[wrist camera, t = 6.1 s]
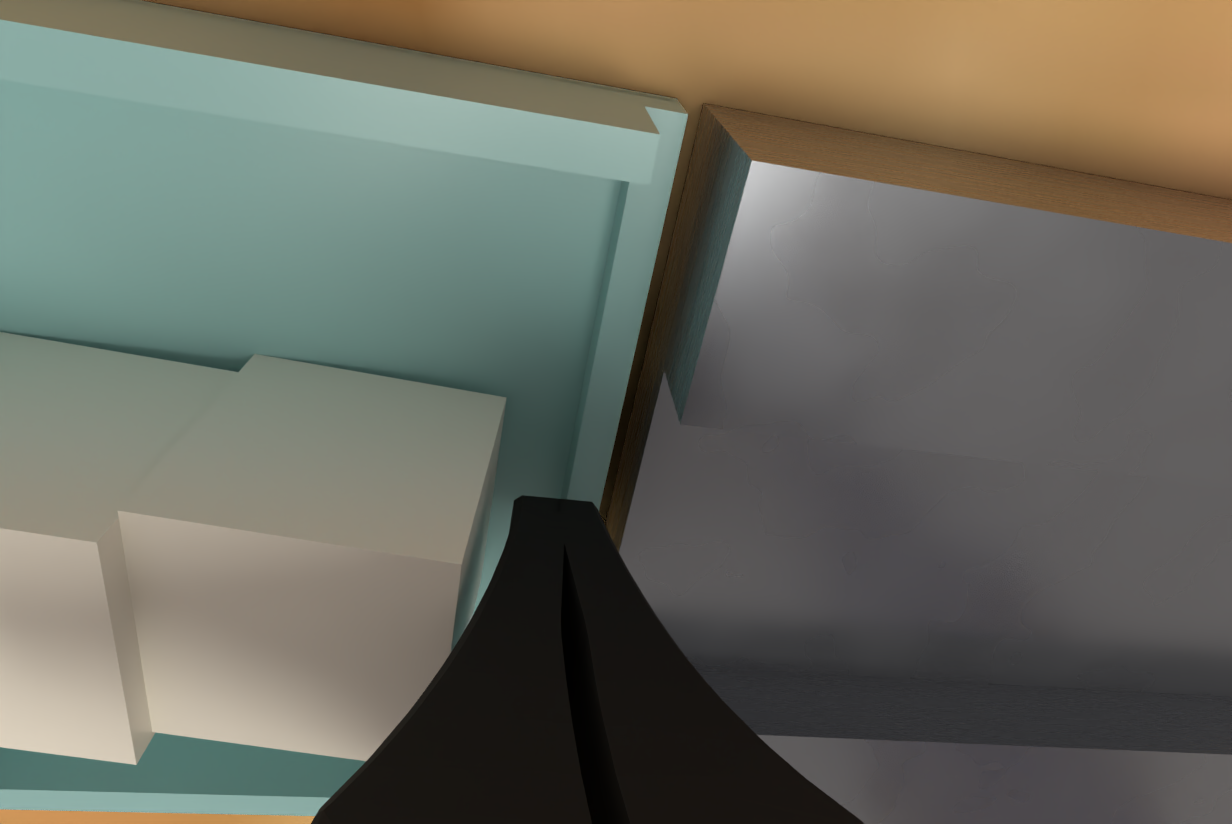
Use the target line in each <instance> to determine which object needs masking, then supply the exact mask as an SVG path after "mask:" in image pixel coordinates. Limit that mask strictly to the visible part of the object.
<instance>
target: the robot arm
mask: <svg viewBox="0 0 1232 824" xmlns="http://www.w3.org/2000/svg"><path fill="white" fill-rule="evenodd" d="M311 824H864V823H863V822H862V821H861V820H860V819H859V818H857V817H856V816H855V815H853V814H852V813H851V812H849V811H848V810H847V809H845V808H844V807H843V806H841V805H840V804H839V803H838V802H836V801H835V800H834V799H832V798H831V797H830V796H828V795H827V794H826V793H824V792H823V791H822V790H820V789H819V788H818V787H817V786H815V785H814V784H813V783H811V782H810V781H809V780H807V779H806V778H805V777H804V776H803V775H801V774H800V773H799V772H798V771H797V770H796V769H794V768H793V767H792V766H791V765H790V764H789V763H788V762H786V761H785V760H784V759H783V758H782V757H781V756H779V755H778V754H777V753H776V752H775V751H774V750H773V749H771V748H770V747H769V746H768V745H767V744H766V743H765V742H764V741H763V740H762V739H761V738H760V737H759V736H758V735H757V734H756V733H755V732H754V731H753V730H752V729H751V728H750V727H749V726H748V725H747V724H746V723H745V722H744V721H743V720H742V719H741V718H740V717H739V716H738V715H737V714H736V713H735V712H734V711H733V710H732V709H731V708H730V707H729V706H728V705H727V704H726V703H725V702H724V701H723V700H722V699H721V698H720V697H719V695H718V694H717V693H716V692H715V691H714V690H713V689H712V688H711V686H710V685H709V684H708V683H707V682H706V681H705V679H704V678H703V677H702V676H701V675H700V673H699V672H698V671H697V670H696V669H695V667H694V666H693V665H692V664H691V662H690V661H689V660H688V659H687V657H686V656H685V655H684V653H683V652H682V651H681V650H680V648H679V647H678V645H677V644H676V643H675V641H674V640H673V639H672V637H671V636H670V634H669V633H668V632H667V630H666V629H665V627H664V626H663V624H662V623H661V621H660V620H659V619H658V617H657V616H656V614H655V613H654V611H653V609H652V608H651V606H650V605H649V603H648V602H647V600H646V599H645V597H644V595H643V594H642V592H641V590H640V589H639V587H638V585H637V584H636V582H635V580H634V579H633V577H632V575H631V574H630V572H629V570H628V568H627V567H626V565H625V563H624V561H623V559H622V558H621V556H620V554H619V552H618V550H617V548H616V546H615V544H614V542H613V540H612V538H611V536H610V534H609V532H608V530H607V528H606V526H605V524H604V522H603V520H602V518H601V515H600V513H599V511H598V509H597V507H596V506H595V505H594V503H593V502H590V501H579V500H569V499H558V498H547V497H536V496H525V495H522V496H520V497H518V498H517V499H515V500H514V503H513V509H512V516H511V522H510V528H509V535H508V538H507V541H506V544H505V547H504V550H503V552H502V555H501V557H500V559H499V562H498V564H497V567H496V569H495V571H494V574H493V576H492V579H491V581H490V583H489V585H488V587H487V589H486V591H485V593H484V595H483V597H482V599H481V601H480V603H479V605H478V607H477V608H476V610H475V612H474V614H473V616H472V618H471V620H470V622H469V624H468V625H467V627H466V629H465V630H464V632H463V634H462V636H461V637H460V639H459V640H458V642H457V644H456V645H455V647H454V648H453V650H452V652H451V653H450V655H449V656H448V658H447V659H446V661H445V662H444V664H443V665H442V667H441V668H440V670H439V671H438V673H437V674H436V675H435V677H434V678H433V680H432V681H431V682H430V684H429V685H428V687H427V688H426V689H425V691H424V692H423V694H422V695H421V696H420V698H419V699H418V700H417V702H416V703H415V704H414V705H413V707H412V708H411V709H410V711H409V712H408V713H407V714H406V716H405V717H404V718H403V719H402V720H401V721H400V723H399V724H398V725H397V726H396V727H395V729H394V730H393V731H392V732H391V733H390V734H389V736H388V737H387V738H386V739H385V740H384V741H383V743H382V744H381V745H380V746H379V747H378V749H377V750H376V751H375V752H374V753H373V754H372V755H371V756H370V758H369V759H368V760H367V761H366V762H365V763H364V764H363V765H362V766H361V767H360V768H359V769H358V770H357V771H356V772H355V773H354V774H353V775H352V776H351V777H350V778H349V779H348V780H347V781H346V782H345V783H344V784H343V785H342V786H341V787H340V788H339V789H338V790H337V791H336V792H335V793H334V794H333V795H332V797H331V798H330V799H329V800H328V801H327V802H326V803H325V804H324V805H323V806H322V807H321V808H320V809H319V810H318V812H317V814H316V816H315V818H314V819H313V821H312V823H311Z"/></svg>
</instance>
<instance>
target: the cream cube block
mask: <svg viewBox="0 0 1232 824" xmlns="http://www.w3.org/2000/svg"><path fill="white" fill-rule="evenodd" d="M506 398H507V397H501V396H495V395H490V394H484V393H478V392H472V391H466V390H461V389H455V388H449V387H443V386H438V385H432V384H426V383H420V382H415V381H409V380H403V379H397V378H391V377H386V376H380V375H374V374H368V373H363V372H357V371H351V370H345V369H340V368H334V367H328V366H322V365H316V364H311V363H305V362H299V361H293V360H288V359H282V358H276V357H270V356H265V355H259V354H254V355H253V356H252V357H251V359H250V360H249V361H248V362H247V363H246V364H245V365H244V367H243V368H242V369H241V370H240V371H239V372H238V373H237V375H236V376H235V377H234V378H233V379H232V380H231V381H230V383H229V384H228V385H227V386H226V387H225V388H224V389H223V391H222V392H221V393H220V394H219V395H218V396H217V397H216V399H215V400H214V401H213V402H212V403H211V404H210V405H209V407H208V408H207V409H206V410H205V411H204V412H203V413H202V415H201V416H200V417H199V418H198V419H197V420H196V421H195V423H194V424H193V425H192V426H191V427H190V428H189V429H188V431H187V432H186V433H185V434H184V435H183V436H182V437H181V439H180V440H179V441H178V442H177V443H176V444H175V445H174V447H173V448H172V449H171V450H170V451H169V452H168V453H167V455H166V456H165V457H164V458H163V459H162V460H161V461H160V463H159V464H158V465H157V466H156V467H155V468H154V469H153V471H152V472H151V473H150V474H149V475H148V476H147V477H146V478H145V480H144V481H143V482H142V483H141V484H140V485H139V486H138V488H137V489H136V490H135V491H134V492H133V493H132V494H131V496H130V497H129V498H128V499H127V500H126V501H125V502H124V504H123V505H122V506H121V507H120V508H119V509H118V510H117V511H118V517H119V524H120V530H121V536H122V543H123V549H124V555H125V562H126V568H127V574H128V581H129V587H130V593H131V600H132V606H133V613H134V619H135V625H136V632H137V638H138V644H139V651H140V657H141V663H142V670H143V676H144V682H145V689H146V695H147V701H148V708H149V714H150V721H151V727H152V732H156V733H163V734H170V735H178V736H185V737H192V738H200V739H207V740H214V741H222V742H229V743H237V744H244V745H251V746H258V747H266V748H273V749H280V750H288V751H295V752H302V753H310V754H317V755H325V756H332V757H339V758H346V759H354V760H361V761H367V760H368V759H369V758H370V756H371V755H372V754H373V753H374V752H375V751H376V750H377V749H378V747H379V746H380V745H381V744H382V743H383V741H384V740H385V739H386V738H387V737H388V736H389V734H390V733H391V732H392V731H393V730H394V729H395V727H396V726H397V725H398V724H399V723H400V721H401V720H402V719H403V718H404V717H405V716H406V714H407V713H408V712H409V711H410V709H411V708H412V707H413V705H414V704H415V703H416V702H417V700H418V699H419V698H420V696H421V695H422V694H423V692H424V691H425V689H426V688H427V687H428V685H429V684H430V682H431V681H432V680H433V678H434V677H435V675H436V674H437V673H438V671H439V670H440V668H441V667H442V665H443V664H444V662H445V661H446V659H447V658H448V656H449V655H450V653H451V652H452V650H453V648H454V647H455V645H456V644H457V642H458V640H459V639H460V637H461V636H462V634H463V632H464V630H465V629H466V627H467V625H468V624H469V622H470V620H471V618H472V616H473V612H474V608H475V603H476V599H477V595H478V590H479V586H480V582H481V576H482V569H483V562H484V555H485V548H486V541H487V533H488V526H489V519H490V512H491V505H492V498H493V491H494V483H495V476H496V469H497V462H498V455H499V448H500V441H501V433H502V426H503V419H504V412H505V405H506Z"/></svg>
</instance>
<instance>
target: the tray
mask: <svg viewBox="0 0 1232 824" xmlns="http://www.w3.org/2000/svg"><path fill="white" fill-rule="evenodd" d="M687 118H688V113H687V112H686V110H685V109H684V108H683V106H682V105H681V104H680V102H679V101H678V100H677V98H671V97H666V96H661V95H655V94H650V93H644V92H639V91H633V90H628V89H622V88H617V87H611V86H606V85H600V84H595V83H590V82H584V81H579V80H573V79H568V78H562V77H557V76H551V75H546V74H540V73H535V72H529V71H524V70H519V69H513V68H508V67H502V66H497V65H491V64H486V63H480V62H475V61H469V60H464V59H458V58H453V57H448V56H442V55H437V54H431V53H426V52H420V51H415V50H409V49H404V48H398V47H393V46H387V45H382V44H377V43H371V42H366V41H360V40H355V39H349V38H344V37H338V36H333V35H327V34H322V33H316V32H311V31H305V30H300V29H295V28H289V27H284V26H278V25H273V24H267V23H262V22H256V21H251V20H245V19H240V18H234V17H229V16H224V15H218V14H213V13H207V12H202V11H196V10H191V9H185V8H180V7H174V6H169V5H163V4H158V3H153V2H147V1H142V0H0V332H4V333H10V334H16V335H22V336H28V337H34V338H39V339H45V340H51V341H57V342H63V343H69V344H75V345H81V346H87V347H93V348H99V349H105V350H110V351H116V352H122V353H128V354H134V355H140V356H146V357H152V358H158V359H164V360H170V361H176V362H181V363H187V364H193V365H199V366H205V367H211V368H217V369H223V370H229V371H235V372H239V371H240V370H241V369H242V368H243V367H244V365H245V364H246V363H247V362H248V361H249V360H250V359H251V357H252V356H253V355H254V354H259V355H265V356H270V357H276V358H282V359H288V360H293V361H299V362H305V363H311V364H316V365H322V366H328V367H334V368H340V369H345V370H351V371H357V372H363V373H368V374H374V375H380V376H386V377H391V378H397V379H403V380H409V381H415V382H420V383H426V384H432V385H438V386H443V387H449V388H455V389H461V390H466V391H472V392H478V393H484V394H490V395H495V396H501V397H507V398H506V405H505V412H504V419H503V426H502V433H501V441H500V448H499V455H498V462H497V469H496V476H495V483H494V491H493V498H492V505H491V512H490V519H489V526H488V533H487V541H486V548H485V555H484V562H483V569H482V576H481V582H480V586H479V590H478V595H477V599H476V603H475V608H474V612H475V610H476V608H477V607H478V605H479V603H480V601H481V599H482V597H483V595H484V593H485V591H486V589H487V587H488V585H489V583H490V581H491V579H492V576H493V574H494V571H495V569H496V567H497V564H498V562H499V559H500V557H501V555H502V552H503V550H504V547H505V544H506V541H507V538H508V535H509V528H510V522H511V516H512V509H513V503H514V500H515V499H517V498H518V497H520V496H522V495H525V496H536V497H547V498H558V499H569V500H579V501H590V502H593V503H594V505H595V506H596V507H597V509H598V511H599V509H600V504H601V500H602V495H603V491H604V486H605V482H606V478H607V473H608V469H609V464H610V460H611V455H612V451H613V447H614V442H615V438H616V433H617V429H618V424H619V420H620V415H621V411H622V407H623V402H624V398H625V393H626V389H627V384H628V380H629V376H630V371H631V367H632V362H633V358H634V353H635V349H636V344H637V340H638V336H639V331H640V327H641V322H642V318H643V313H644V309H645V305H646V300H647V296H648V291H649V287H650V282H651V278H652V273H653V269H654V265H655V260H656V256H657V251H658V247H659V242H660V238H661V234H662V229H663V225H664V220H665V216H666V211H667V207H668V202H669V198H670V194H671V189H672V185H673V180H674V176H675V171H676V167H677V163H678V158H679V154H680V149H681V145H682V140H683V136H684V131H685V127H686V123H687ZM474 612H473V614H474ZM365 762H366V761H361V760H354V759H346V758H339V757H332V756H325V755H317V754H310V753H302V752H295V751H288V750H280V749H273V748H266V747H258V746H251V745H244V744H237V743H229V742H222V741H214V740H207V739H200V738H192V737H185V736H178V735H170V734H163V733H156V732H155V734H154V736H153V738H152V739H151V741H150V743H149V744H148V746H147V748H146V750H145V751H144V753H143V755H142V756H141V758H140V760H139V761H138V763H137V765H134V764H126V763H118V762H111V761H103V760H95V759H87V758H80V757H72V756H64V755H56V754H49V753H41V752H33V751H26V750H18V749H10V748H2V747H0V809H13V810H59V811H106V812H153V813H200V814H247V815H294V816H316V814H317V812H318V810H319V809H320V808H321V807H322V806H323V805H324V804H325V803H326V802H327V801H328V800H329V799H330V798H331V797H332V795H333V794H334V793H335V792H336V791H337V790H338V789H339V788H340V787H341V786H342V785H343V784H344V783H345V782H346V781H347V780H348V779H349V778H350V777H351V776H352V775H353V774H354V773H355V772H356V771H357V770H358V769H359V768H360V767H361V766H362V765H363V764H364V763H365Z"/></svg>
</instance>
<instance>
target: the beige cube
mask: <svg viewBox="0 0 1232 824" xmlns="http://www.w3.org/2000/svg"><path fill="white" fill-rule="evenodd" d="M237 373H238V372H235V371H229V370H223V369H217V368H211V367H205V366H199V365H193V364H187V363H181V362H176V361H170V360H164V359H158V358H152V357H146V356H140V355H134V354H128V353H122V352H116V351H110V350H105V349H99V348H93V347H87V346H81V345H75V344H69V343H63V342H57V341H51V340H45V339H39V338H34V337H28V336H22V335H16V334H10V333H4V332H0V747H2V748H10V749H18V750H26V751H33V752H41V753H49V754H56V755H64V756H72V757H80V758H87V759H95V760H103V761H111V762H118V763H126V764H134V765H137V763H138V761H139V760H140V758H141V756H142V755H143V753H144V751H145V750H146V748H147V746H148V744H149V743H150V741H151V739H152V738H153V736H154V734H155V732H152V727H151V721H150V714H149V708H148V701H147V695H146V689H145V682H144V676H143V670H142V663H141V657H140V651H139V644H138V638H137V632H136V625H135V619H134V613H133V606H132V600H131V593H130V587H129V581H128V574H127V568H126V562H125V555H124V549H123V543H122V536H121V530H120V524H119V517H118V511H117V510H118V509H119V508H120V507H121V506H122V505H123V504H124V502H125V501H126V500H127V499H128V498H129V497H130V496H131V494H132V493H133V492H134V491H135V490H136V489H137V488H138V486H139V485H140V484H141V483H142V482H143V481H144V480H145V478H146V477H147V476H148V475H149V474H150V473H151V472H152V471H153V469H154V468H155V467H156V466H157V465H158V464H159V463H160V461H161V460H162V459H163V458H164V457H165V456H166V455H167V453H168V452H169V451H170V450H171V449H172V448H173V447H174V445H175V444H176V443H177V442H178V441H179V440H180V439H181V437H182V436H183V435H184V434H185V433H186V432H187V431H188V429H189V428H190V427H191V426H192V425H193V424H194V423H195V421H196V420H197V419H198V418H199V417H200V416H201V415H202V413H203V412H204V411H205V410H206V409H207V408H208V407H209V405H210V404H211V403H212V402H213V401H214V400H215V399H216V397H217V396H218V395H219V394H220V393H221V392H222V391H223V389H224V388H225V387H226V386H227V385H228V384H229V383H230V381H231V380H232V379H233V378H234V377H235V376H236V375H237Z"/></svg>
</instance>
